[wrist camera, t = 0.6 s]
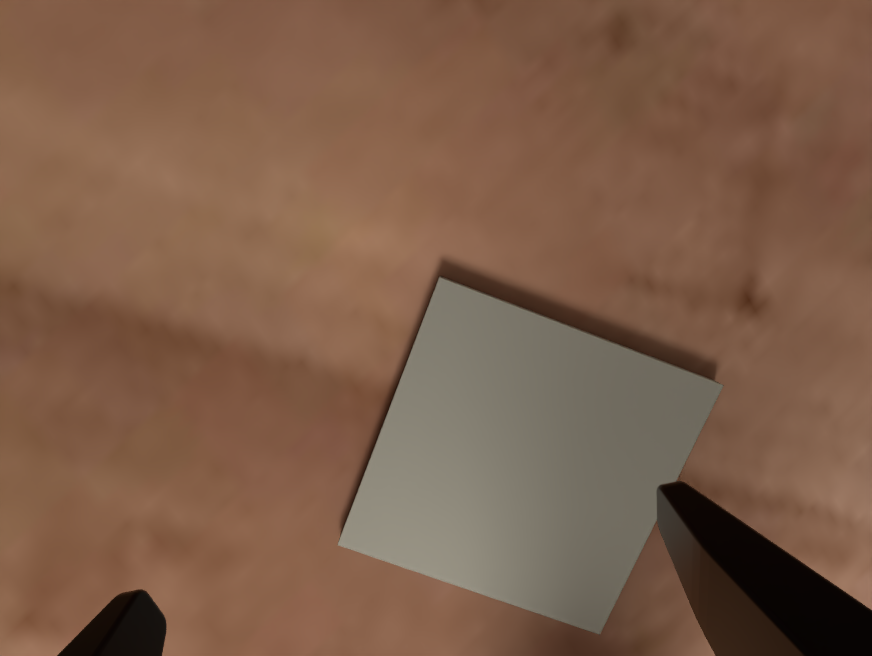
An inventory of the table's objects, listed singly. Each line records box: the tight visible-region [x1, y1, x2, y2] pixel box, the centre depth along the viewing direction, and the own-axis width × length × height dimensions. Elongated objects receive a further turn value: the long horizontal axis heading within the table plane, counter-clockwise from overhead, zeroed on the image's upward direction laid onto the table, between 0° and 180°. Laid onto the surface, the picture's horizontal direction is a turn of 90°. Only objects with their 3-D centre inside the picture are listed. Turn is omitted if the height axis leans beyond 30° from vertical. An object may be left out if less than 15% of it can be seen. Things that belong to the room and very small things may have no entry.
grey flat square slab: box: [338, 276, 724, 635], centre depth 26 cm, size 14×14×1 cm
